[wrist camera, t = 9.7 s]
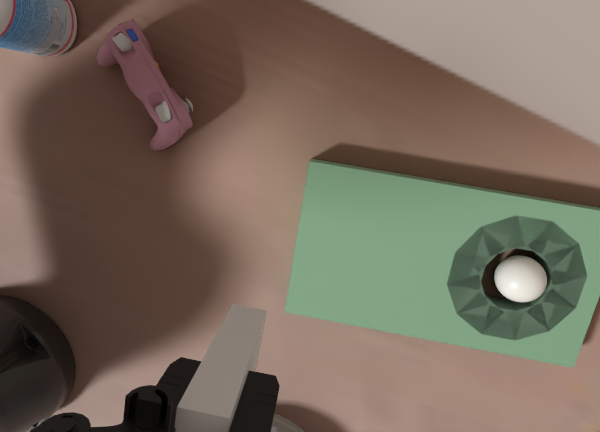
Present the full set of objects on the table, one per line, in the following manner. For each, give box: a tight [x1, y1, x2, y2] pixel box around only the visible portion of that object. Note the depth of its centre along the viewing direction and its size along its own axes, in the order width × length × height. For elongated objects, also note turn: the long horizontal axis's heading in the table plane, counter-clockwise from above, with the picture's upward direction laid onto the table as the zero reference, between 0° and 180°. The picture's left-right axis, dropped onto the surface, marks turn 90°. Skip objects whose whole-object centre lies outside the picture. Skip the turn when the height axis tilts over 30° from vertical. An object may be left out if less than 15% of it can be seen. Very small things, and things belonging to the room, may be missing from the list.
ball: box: [494, 255, 547, 302], centre depth 35 cm, size 4×4×4 cm
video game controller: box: [97, 19, 193, 151], centre depth 34 cm, size 10×5×7 cm, turn 29°
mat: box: [285, 159, 600, 368], centre depth 36 cm, size 26×14×2 cm, turn 81°
